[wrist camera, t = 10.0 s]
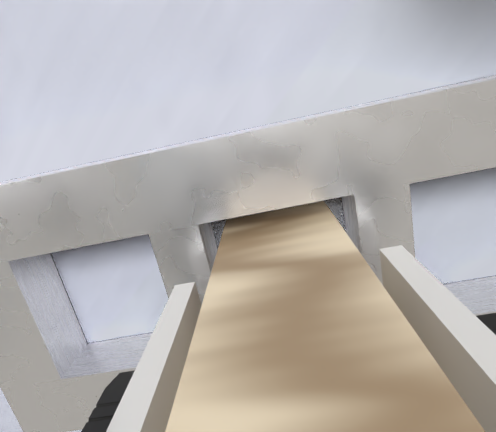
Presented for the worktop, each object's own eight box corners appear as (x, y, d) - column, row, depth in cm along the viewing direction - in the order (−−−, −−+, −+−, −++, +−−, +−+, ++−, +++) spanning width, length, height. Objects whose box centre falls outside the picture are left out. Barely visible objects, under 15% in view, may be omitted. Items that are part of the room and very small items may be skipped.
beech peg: (246, 304, 17) (222, 700, 6) (226, 219, 16) (141, 513, 4) (337, 288, 17) (507, 682, 5) (323, 200, 15) (511, 470, 4)
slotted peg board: (55, 396, 19) (23, 440, 17) (-42, 190, 16) (-100, 207, 13) (589, 314, 17) (650, 352, 14) (615, 49, 13) (701, 35, 11)
